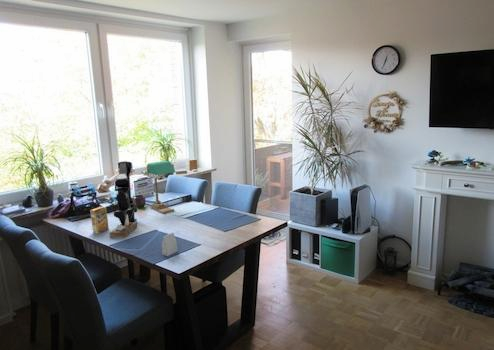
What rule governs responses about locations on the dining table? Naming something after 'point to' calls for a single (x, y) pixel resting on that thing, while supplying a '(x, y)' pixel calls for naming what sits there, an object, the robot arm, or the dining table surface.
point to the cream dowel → (126, 221)
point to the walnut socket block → (125, 232)
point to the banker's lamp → (156, 169)
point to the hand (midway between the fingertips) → (126, 223)
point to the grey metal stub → (120, 227)
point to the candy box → (99, 219)
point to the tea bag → (169, 244)
